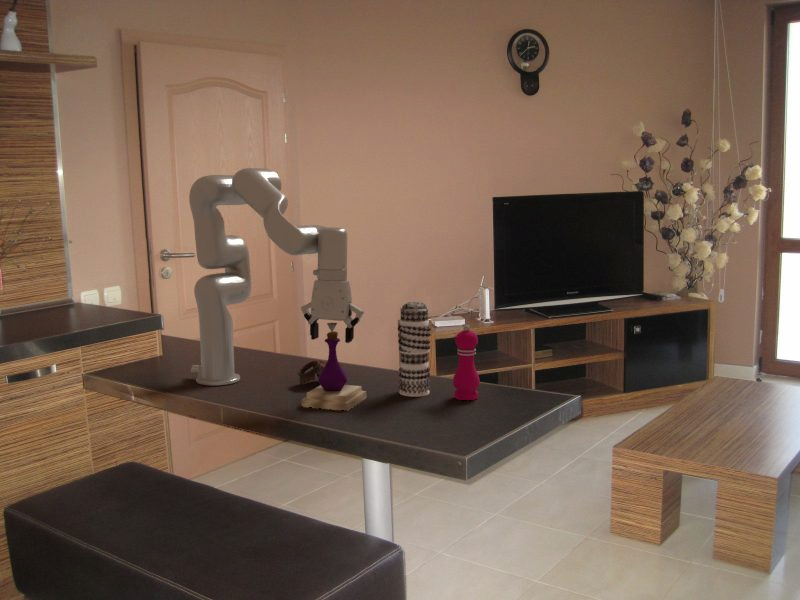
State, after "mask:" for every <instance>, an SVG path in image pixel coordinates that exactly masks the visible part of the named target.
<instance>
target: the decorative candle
mask: <svg viewBox="0 0 800 600" xmlns="http://www.w3.org/2000/svg"><path fill="white" fill-rule="evenodd" d="M429 310H430V308H429V307H427V305H426V304H425V303H424V302H419V301H418V302H417V301H413V302H412V301H411V302H405V303H404V304H403V305H402V307H400V308H399V311H400V318H399V323H398V324H397V325H398V326H397V331H398V332H399V333H398V334H397V336H398V337H397V338H398V341H397V342H398V344H399V346H398V352H399V353H400V362H399V369H398V371H399V374H398V376H399V377H400V378H399V380H398V383H399V386H398V389H399V390H398V391H399V392H398V394H400V395H401V396H405V397H414V398H415V397H417V398H418V397H424V396H428V395H430V391H431V390H430V388H431V385H430V382H431V380H430V379H429V377H430V376H431V374H430V373H429V372H430V371H431V368H430V367H429V366H430V364H429V363H430V362H429V354H428V353H430V351H431V350H430V349H431V346H430V345H429V344H430V343H431V340H429V339H428V338H429V337H431V335H432V334H431V333H430V331H432V330H431V327H429V324H430V323H429V322H430V321H429Z"/></svg>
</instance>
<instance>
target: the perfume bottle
mask: <svg viewBox="0 0 800 600" xmlns="http://www.w3.org/2000/svg"><path fill="white" fill-rule="evenodd" d="M326 324H327V326H328V328H329V330H330V331H328V332H327V334H326V337H327V338H326V339H324V342H325V343H327V346H328V357H327V361H326V363H325V366H324V368H323V370H322V371H321V372H320V374H319V379H317V381H318V383H319V386H320V385H321V386H322V388H323V389H324V391H341V390H342V388H343V387H344V385H346V383H348V373H347V371H346V370H344V368H343V367H342V366H341V364H340V362H339V360H338V356H337V346H338V344H339V343H340V342H341V339H340V338H339V337H338V336H339V332H337V331H334V330H335V329H336V326H337V325H338V322H327V323H326Z"/></svg>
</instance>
